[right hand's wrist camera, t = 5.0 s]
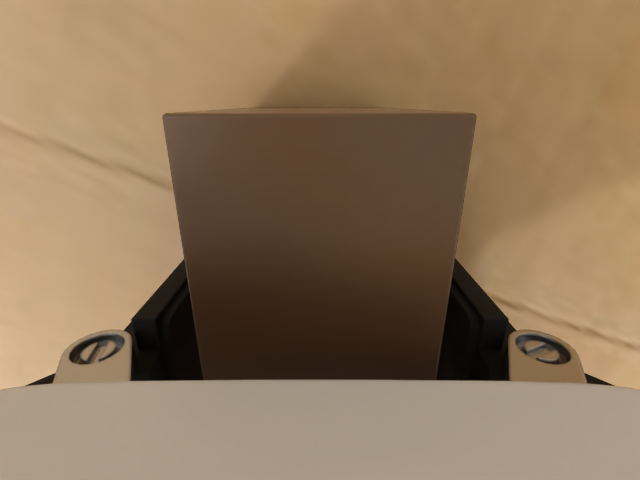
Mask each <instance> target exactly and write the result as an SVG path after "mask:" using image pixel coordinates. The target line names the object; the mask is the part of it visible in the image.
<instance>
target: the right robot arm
mask: <svg viewBox="0 0 640 480" xmlns="http://www.w3.org/2000/svg"><path fill="white" fill-rule="evenodd" d="M131 321H132V322H131V323H130V324H129V325H128V326H127V327H126V329H125V330H124V331H122V330H106V331H100V332H97V333H93V334H90V335H88V336H85V337H83V338H81V339H79V340H78V341H76V342H74V343H73V344H71V345H70V346H69V347H68V348H67V349H66V350H65V351H64V353H63V354H62V356H61V359H60V362H59V365H58V368H57V371H56V373H55V374H52V375H50V376H47V377H45V378H43V379H40V380H38V381H36V382H33V383H31V384H28V385H26V386H22V387H15V388H8V389H2V390H0V480H640V390H637V389H632V388H625V387H618V386H614V385H612V384H609V383H607V382H604V381H602V380H600V379H597V378H595V377H593V376H590V375H588V374H585V373H584V371H583V368H582V365H581V362H580V359H579V356H578V354H577V353H576V351H575V350H574V349H573V348H572V347H571V346H570V345H569V344H567V343H566V342H564V341H562V340H561V339H559V338H557V337H555V336H552V335H550V334H547V333H543V332H540V331H534V330H518V331H516V330H515V329H514V327H513V326H512V325H511V324H510V323H509V322H508V321H509V319H508V318H507V317H506V316H505V315H504V313H503V312H502V311H501V310H500V309H499V308H498V307H497V305H496V304H495V303H494V302H493V301H492V300H491V299H490V297H489V296H488V295H487V294H486V293H485V292H484V291H483V290H482V288H481V287H480V286H479V285H478V284H477V283H476V282H475V280H474V279H473V278H472V277H471V276H470V275H469V274H468V272H467V271H466V270H465V269H464V268H463V267H462V266H461V264H460V263H459V262H458V261H457V260H456V259H455V260H454V267H453V273H452V280H451V286H450V293H449V299H448V306H447V312H446V319H445V325H444V332H443V338H442V345H441V351H440V358H439V364H438V371H437V377H436V380H203V376H202V370H201V363H200V357H199V350H198V344H197V337H196V331H195V324H194V318H193V311H192V305H191V298H190V292H189V285H188V279H187V273H186V266H185V260H183V261H182V262H181V263H180V264H179V266H178V267H177V268H176V269H175V270H174V271H173V272H172V274H171V275H170V276H169V277H168V278H167V279H166V280H165V282H164V283H163V284H162V285H161V286H160V287H159V288H158V290H157V291H156V292H155V293H154V294H153V295H152V296H151V297H150V299H149V300H148V301H147V302H146V303H145V304H144V305H143V307H142V308H141V309H140V310H139V311H138V312H137V313H136V315H135V316H134V317H133V318H132V319H131Z"/></svg>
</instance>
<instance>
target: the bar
mask: <svg viewBox="0 0 640 480" xmlns="http://www.w3.org/2000/svg"><path fill="white" fill-rule="evenodd" d="M475 123H476V114H474V113H461V112H445V111H429V110H412V109H396V108H243V109H227V110H211V111H194V112H178V113H165V114H163V124H164V130H165V137H166V143H167V149H168V156H169V162H170V169H171V175H172V182H173V188H174V195H175V201H176V208H177V214H178V221H179V227H180V234H181V240H182V247H183V253H184V260H185V266H186V273H187V279H188V285H189V292H190V298H191V305H192V311H193V318H194V324H195V331H196V337H197V344H198V350H199V357H200V363H201V370H202V376H203V380H436V377H437V371H438V364H439V358H440V351H441V345H442V338H443V332H444V325H445V319H446V312H447V306H448V299H449V293H450V286H451V280H452V273H453V267H454V260H455V254H456V247H457V241H458V234H459V228H460V221H461V214H462V208H463V201H464V195H465V188H466V182H467V175H468V169H469V162H470V156H471V149H472V143H473V136H474V130H475Z"/></svg>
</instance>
